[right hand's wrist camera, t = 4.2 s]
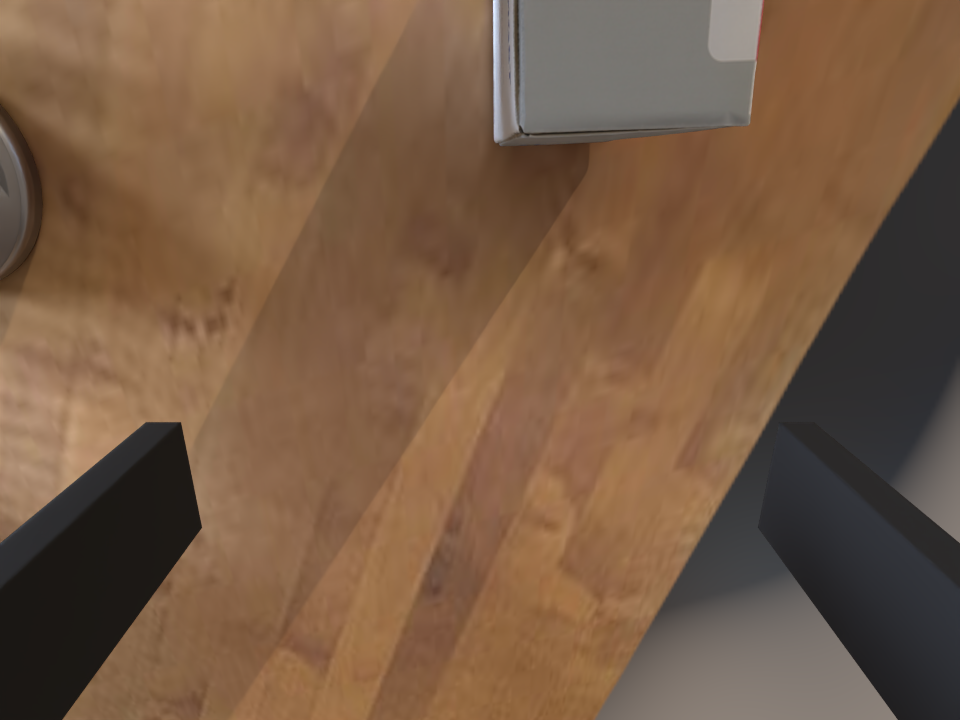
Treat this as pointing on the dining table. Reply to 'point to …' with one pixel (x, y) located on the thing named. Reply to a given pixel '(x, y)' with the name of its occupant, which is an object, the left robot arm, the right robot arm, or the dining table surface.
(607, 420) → the dining table surface
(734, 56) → the hard drive box
